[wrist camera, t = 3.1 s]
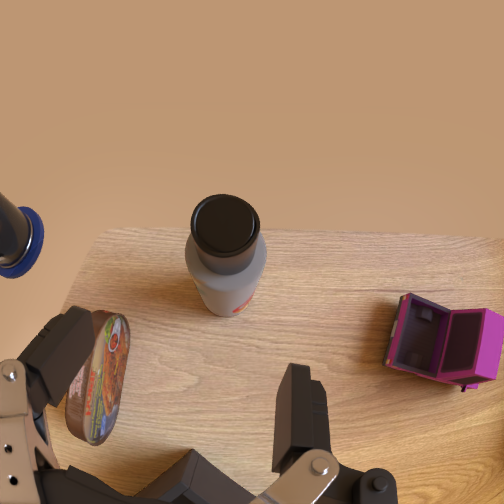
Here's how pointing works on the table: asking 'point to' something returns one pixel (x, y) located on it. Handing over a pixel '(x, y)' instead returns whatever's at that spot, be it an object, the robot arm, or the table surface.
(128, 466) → the table surface
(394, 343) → the toy truck
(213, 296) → the lotion bottle
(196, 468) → the bin
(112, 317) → the tin
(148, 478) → the table surface
